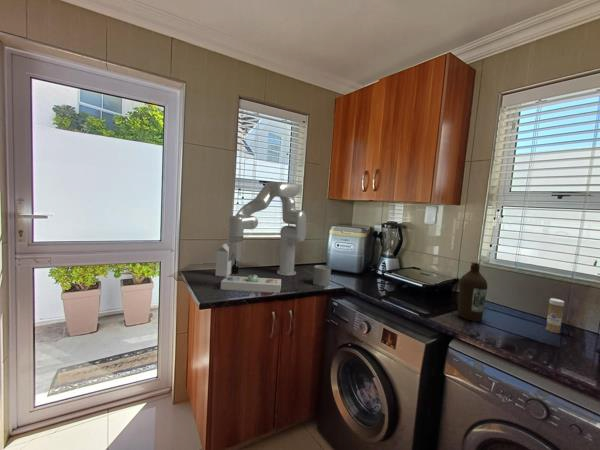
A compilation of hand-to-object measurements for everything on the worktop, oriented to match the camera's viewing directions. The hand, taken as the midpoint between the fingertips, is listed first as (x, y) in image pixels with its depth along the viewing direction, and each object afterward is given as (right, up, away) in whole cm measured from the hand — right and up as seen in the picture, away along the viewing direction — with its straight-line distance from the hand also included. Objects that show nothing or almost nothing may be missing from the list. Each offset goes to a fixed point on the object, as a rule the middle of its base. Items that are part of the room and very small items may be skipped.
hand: (234, 273), depth 149 cm
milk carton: (-12, -5, +22) cm, 25 cm away
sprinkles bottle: (+140, -19, -32) cm, 145 cm away
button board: (+9, -8, 0) cm, 12 cm away
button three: (+9, -5, 0) cm, 11 cm away
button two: (-1, -7, 0) cm, 7 cm away
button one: (+19, -8, 0) cm, 21 cm away
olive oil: (+111, -16, -22) cm, 114 cm away
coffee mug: (+48, -9, +19) cm, 52 cm away
